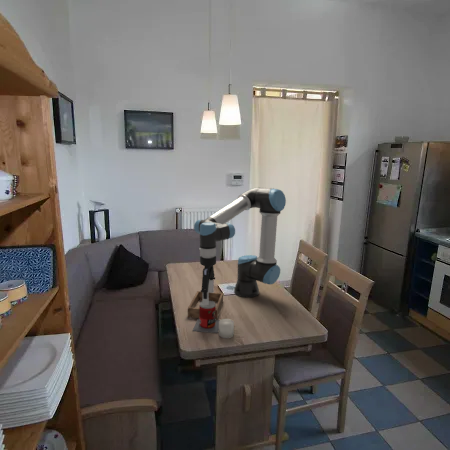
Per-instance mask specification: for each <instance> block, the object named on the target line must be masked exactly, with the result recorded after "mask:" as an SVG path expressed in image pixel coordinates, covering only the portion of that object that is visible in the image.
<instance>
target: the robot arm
mask: <svg viewBox="0 0 450 450" xmlns="http://www.w3.org/2000/svg"><path fill="white" fill-rule="evenodd" d="M286 203H287V200H286V195H285V193H284V191H282V190H281V189H278V188H274V187H273V188H272V187H270V188H268V187H259V186H258V187H254V188H250V189H248V190H246V191H245V192H243V193H240V194H239V195H238V196H237V198H236V199H235V200H234V201H232V202H230V203H229V204H227V205H225V206H224V207H222V208H221V209H219V210H218V211H217V212H214V213H213V214H212V215H210V216H208V217H207V218H205V219H197V220H196V221H195V222H194V225H193V229H194V230H193V231H194V232H195V233H196V234H199V249H198V251H199V264H200V265H201V266H204V268H203V270H202V278H201V279H202V280H201V281H202V282H201V290H200V291H201V292H202V297H203V300H202V301H203V305H209V293H214V292H215V289H214V286H215V285H214V281H215V280H216V277H215V271H214V268H215V267H214V266H215V265H216V264H217V243H218V242H221V241H225V240H230V239H232V238H234V237H235V234H236V228H235V226H234V224H233V223H230V222H229V221H231V220H232V219H234V218H236V217H237V216H238V215H240V214H241V213H243V212H244V211H249V210H250V209H255V208H256V209H257V208H258V209H259V214H260V215H261V225H260V226H261V227H260V240H259V241H260V242H259V253H258V254H259V255H258V256H257V255H253V254H251V255H250V254H249V255H247V254H246V255H242V256H240V257H238V259H237V279H236V283H235V286H234V287H233V288H234V289H233V291H234V292H235V293H234V295H236V296H238V297H242V298H254V297H257V296H258V295H259V293H260V289H259V285H258V282H260V283H263V284H265V285H273V284H276V282H277V281H278V279H279V277H280V274H281V268H280V266H279V265H277V263H278V262H277V261H278V260H277V259H276V258H275V255H276V254H275V253H276V252H275V251H276V241H277V240H276V238H277V237H276V236H277V226H278V216H279V215H280V214H281V211H283V210H284V209H285V207H286ZM228 222H229V223H228Z"/></svg>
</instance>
